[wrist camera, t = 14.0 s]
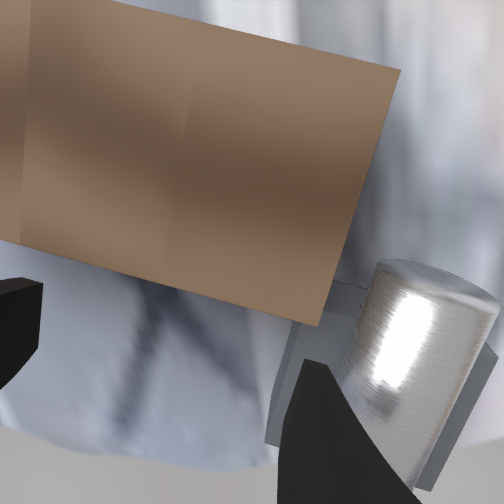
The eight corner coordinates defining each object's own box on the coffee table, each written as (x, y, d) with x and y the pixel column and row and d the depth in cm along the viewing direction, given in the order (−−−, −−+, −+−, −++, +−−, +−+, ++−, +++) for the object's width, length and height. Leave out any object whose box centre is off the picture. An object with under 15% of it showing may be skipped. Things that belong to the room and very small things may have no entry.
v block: (412, 434, 22) (430, 491, 18) (271, 393, 22) (264, 442, 19) (466, 316, 19) (498, 358, 16) (307, 273, 20) (306, 305, 16)
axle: (373, 506, 20) (384, 597, 16) (290, 480, 20) (283, 563, 16) (475, 278, 16) (522, 327, 12) (370, 249, 16) (385, 290, 12)
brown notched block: (316, 265, 20) (317, 327, 14) (-6, 179, 20) (-128, 204, 15) (371, 84, 17) (400, 70, 11) (-1, -6, 18) (-148, -62, 12)
